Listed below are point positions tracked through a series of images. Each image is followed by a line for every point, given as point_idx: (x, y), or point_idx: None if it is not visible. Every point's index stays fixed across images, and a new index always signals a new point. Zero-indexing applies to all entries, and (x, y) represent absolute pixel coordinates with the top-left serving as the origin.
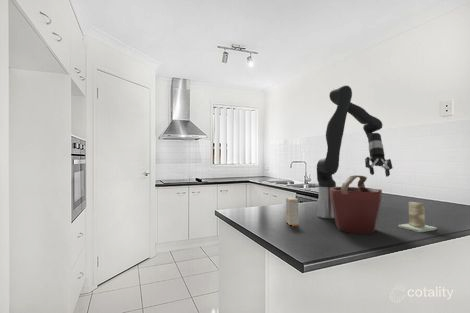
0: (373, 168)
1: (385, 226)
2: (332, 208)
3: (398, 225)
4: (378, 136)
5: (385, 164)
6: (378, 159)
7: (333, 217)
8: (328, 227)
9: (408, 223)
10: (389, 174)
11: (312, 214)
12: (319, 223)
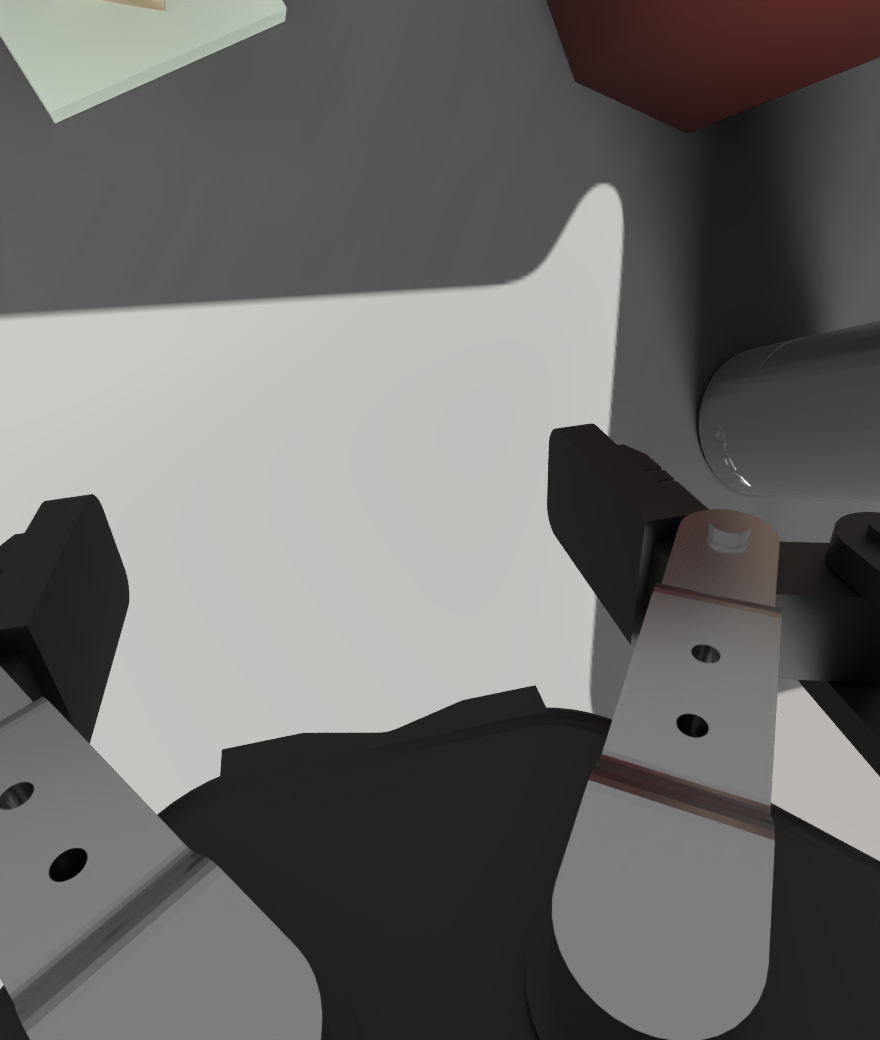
0: (632, 508)
1: (393, 53)
2: (808, 338)
3: (283, 6)
4: None
5: (24, 747)
6: (573, 933)
7: (735, 357)
8: None
9: (142, 71)
10: (19, 537)
11: (847, 512)
12: (862, 167)
